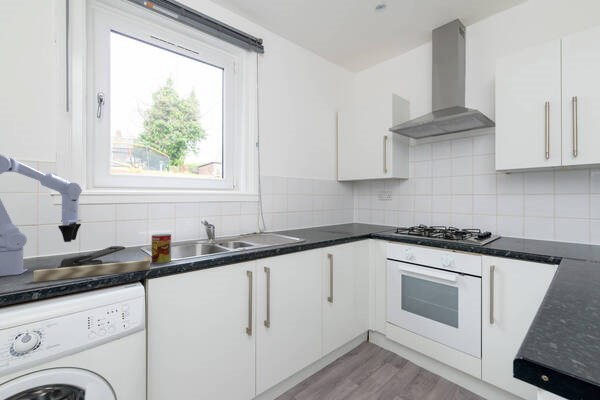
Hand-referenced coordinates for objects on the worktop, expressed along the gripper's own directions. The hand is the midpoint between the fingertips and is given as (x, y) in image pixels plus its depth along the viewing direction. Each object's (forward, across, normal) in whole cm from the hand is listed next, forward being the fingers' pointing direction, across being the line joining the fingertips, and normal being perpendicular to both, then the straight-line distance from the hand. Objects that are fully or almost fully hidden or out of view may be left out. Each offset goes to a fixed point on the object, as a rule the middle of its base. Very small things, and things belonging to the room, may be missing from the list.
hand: (70, 240), depth 120 cm
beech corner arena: (+10, -25, -14) cm, 30 cm away
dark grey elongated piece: (+10, -12, -10) cm, 19 cm away
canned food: (+10, -15, -36) cm, 40 cm away
